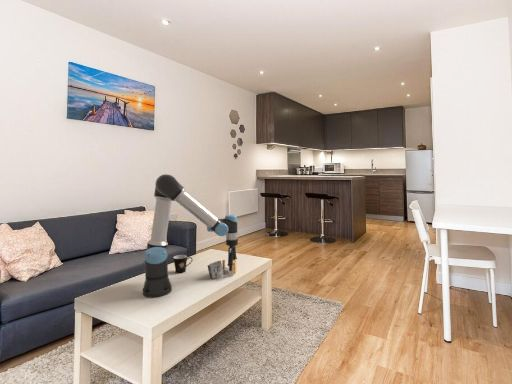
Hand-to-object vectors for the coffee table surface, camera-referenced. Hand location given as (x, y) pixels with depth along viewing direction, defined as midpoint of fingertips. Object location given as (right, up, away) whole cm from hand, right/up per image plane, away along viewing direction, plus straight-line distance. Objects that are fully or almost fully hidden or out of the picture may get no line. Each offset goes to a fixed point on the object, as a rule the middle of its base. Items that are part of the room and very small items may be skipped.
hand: (232, 272), depth 184 cm
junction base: (-6, 0, +4) cm, 7 cm away
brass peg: (-6, +1, +3) cm, 7 cm away
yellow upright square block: (0, 0, 0) cm, 0 cm away
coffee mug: (-33, -1, +4) cm, 33 cm away
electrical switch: (-10, -1, -6) cm, 12 cm away
